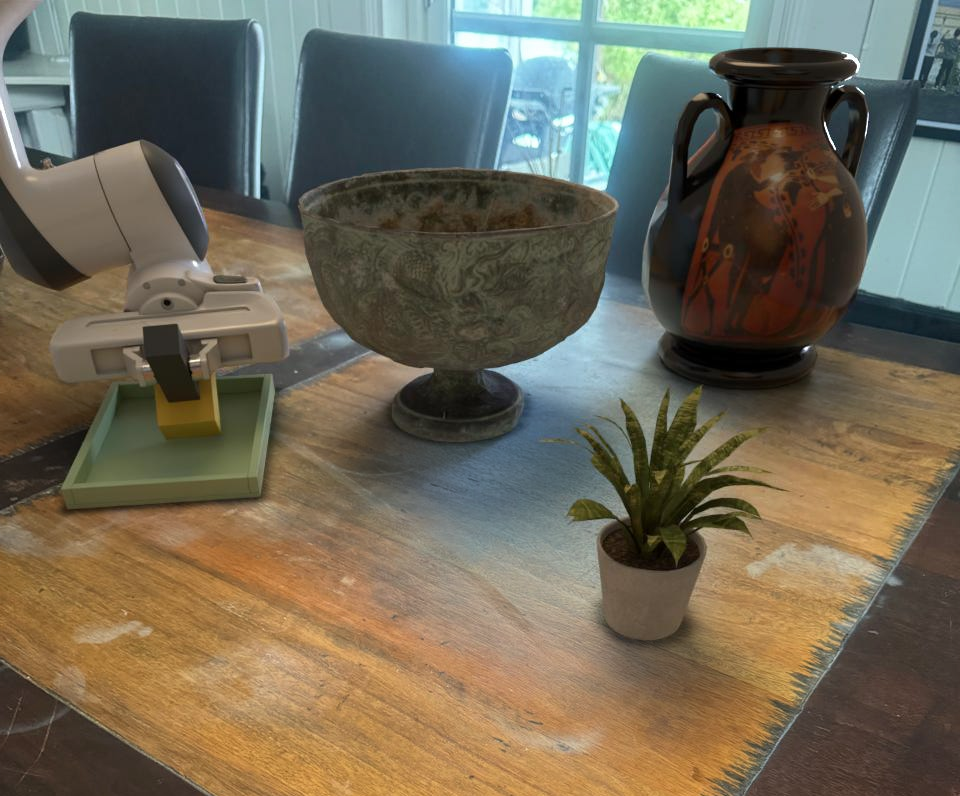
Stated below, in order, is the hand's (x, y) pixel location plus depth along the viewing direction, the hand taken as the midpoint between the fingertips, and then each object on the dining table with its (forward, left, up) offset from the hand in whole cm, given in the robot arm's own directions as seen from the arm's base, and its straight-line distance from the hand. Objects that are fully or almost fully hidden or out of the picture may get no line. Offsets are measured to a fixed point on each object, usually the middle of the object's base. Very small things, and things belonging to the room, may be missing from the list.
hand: (173, 374), depth 79 cm
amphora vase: (+55, +15, -8) cm, 57 cm away
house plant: (+33, -29, -8) cm, 45 cm away
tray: (-1, +3, -8) cm, 9 cm away
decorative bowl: (+25, +7, -8) cm, 27 cm away
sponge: (0, +6, -5) cm, 8 cm away
